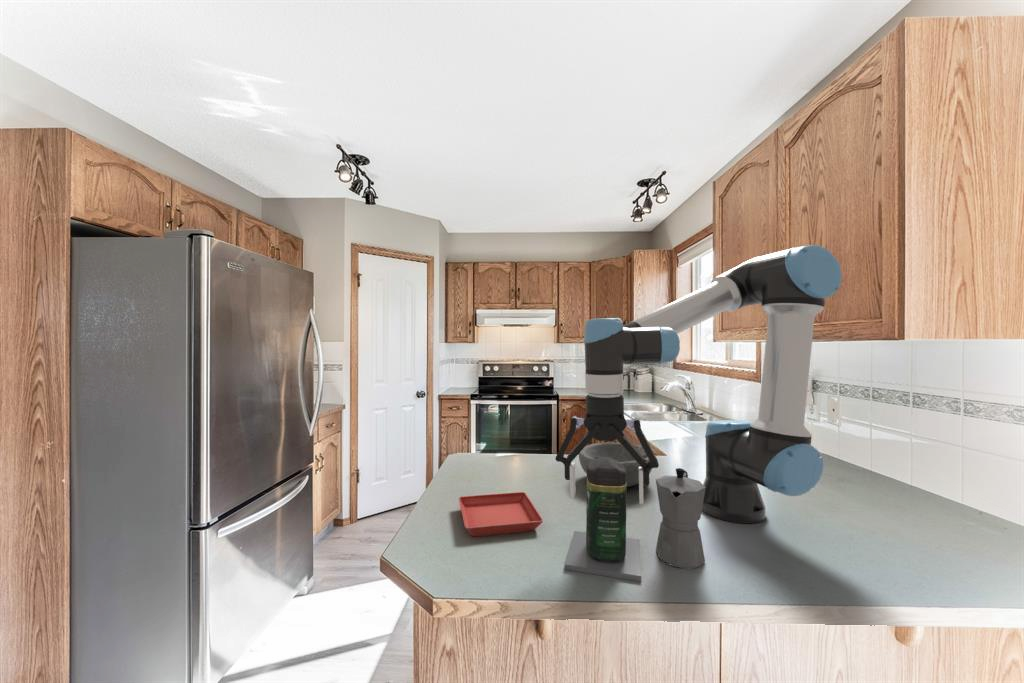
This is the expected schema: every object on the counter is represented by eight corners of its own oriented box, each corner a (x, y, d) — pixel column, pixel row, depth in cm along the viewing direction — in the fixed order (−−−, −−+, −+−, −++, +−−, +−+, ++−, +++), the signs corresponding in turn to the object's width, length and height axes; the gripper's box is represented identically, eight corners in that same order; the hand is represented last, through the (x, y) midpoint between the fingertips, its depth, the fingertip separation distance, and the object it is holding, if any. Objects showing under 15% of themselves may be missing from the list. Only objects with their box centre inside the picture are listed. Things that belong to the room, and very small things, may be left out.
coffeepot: (703, 580, 74) (703, 482, 74) (649, 566, 79) (649, 474, 79) (707, 543, 88) (708, 460, 88) (662, 533, 92) (662, 454, 92)
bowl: (584, 467, 139) (584, 438, 139) (653, 474, 132) (653, 443, 132) (573, 491, 117) (573, 457, 117) (655, 501, 110) (655, 464, 110)
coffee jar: (629, 566, 77) (629, 469, 77) (587, 562, 78) (587, 467, 78) (623, 540, 87) (623, 454, 87) (585, 538, 88) (585, 452, 88)
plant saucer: (524, 502, 110) (524, 490, 110) (544, 534, 93) (544, 519, 93) (458, 509, 106) (458, 496, 106) (465, 543, 89) (465, 528, 89)
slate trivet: (639, 543, 87) (639, 539, 87) (641, 581, 74) (641, 576, 74) (574, 535, 91) (574, 530, 91) (564, 569, 78) (564, 564, 78)
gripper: (668, 392, 82) (669, 496, 83) (547, 390, 89) (549, 486, 90) (672, 398, 75) (673, 512, 76) (540, 395, 82) (542, 499, 82)
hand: (606, 498), depth 83 cm, fingers open, 13 cm apart
